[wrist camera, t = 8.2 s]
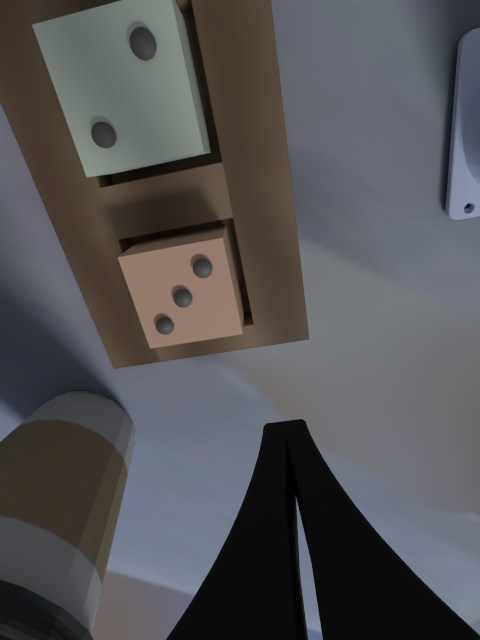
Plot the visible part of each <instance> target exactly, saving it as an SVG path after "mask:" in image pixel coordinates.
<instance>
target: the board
mask: <svg viewBox="0 0 480 640" xmlns="http://www.w3.org/2000/svg"><path fill="white" fill-rule="evenodd" d="M117 1H121V0H0V102H1V105H2V107H3V109H4V112H5V114H6V116H7V119H8V121H9V123H10V126H11V128H12V130H13V133H14V135H15V138H16V140H17V142H18V145H19V147H20V149H21V152H22V154H23V156H24V159H25V161H26V163H27V166H28V168H29V170H30V173H31V175H32V178H33V180H34V182H35V185H36V187H37V189H38V192H39V194H40V196H41V199H42V201H43V203H44V206H45V208H46V210H47V213H48V215H49V218H50V220H51V222H52V225H53V227H54V229H55V232H56V234H57V236H58V239H59V241H60V243H61V246H62V248H63V250H64V253H65V255H66V258H67V260H68V262H69V265H70V267H71V269H72V272H73V274H74V276H75V279H76V281H77V283H78V286H79V288H80V290H81V293H82V295H83V298H84V300H85V302H86V305H87V307H88V309H89V312H90V314H91V316H92V319H93V321H94V323H95V326H96V328H97V330H98V333H99V335H100V338H101V340H102V342H103V345H104V347H105V349H106V352H107V354H108V356H109V359H110V361H111V363H112V366H113V368H114V369H116V368H122V367H129V366H136V365H142V364H149V363H156V362H162V361H169V360H175V359H182V358H189V357H195V356H202V355H209V354H215V353H222V352H229V351H235V350H242V349H249V348H254V347H261V346H268V345H275V344H282V343H288V342H295V341H301V340H308V339H309V333H308V323H307V315H306V306H305V297H304V288H303V279H302V272H301V263H300V253H299V244H298V235H297V226H296V218H295V209H294V200H293V191H292V182H291V174H290V165H289V156H288V147H287V139H286V130H285V121H284V112H283V103H282V95H281V86H280V77H279V68H278V59H277V51H276V42H275V33H274V24H273V16H272V7H271V0H175V1H176V3H177V5H178V7H179V10H180V12H181V14H182V16H183V18H184V20H185V25H186V30H187V35H188V40H189V44H190V49H191V54H192V59H193V64H194V69H195V74H196V79H197V84H198V89H199V94H200V99H201V103H202V108H203V113H204V118H205V123H206V128H207V133H208V138H209V143H210V148H211V153H208V154H203V155H198V156H194V157H189V158H184V159H180V160H175V161H171V162H166V163H161V164H157V165H152V166H147V167H143V168H138V169H133V170H129V171H124V172H119V173H115V174H108V175H100V176H92V177H86V174H85V171H84V168H83V166H82V163H81V160H80V157H79V154H78V152H77V149H76V146H75V143H74V141H73V138H72V135H71V132H70V129H69V127H68V124H67V121H66V118H65V116H64V113H63V110H62V107H61V104H60V102H59V99H58V96H57V93H56V90H55V88H54V85H53V82H52V79H51V77H50V74H49V71H48V68H47V65H46V63H45V60H44V57H43V54H42V52H41V49H40V46H39V43H38V40H37V38H36V35H35V32H34V29H33V27H32V25H33V24H36V23H40V22H44V21H47V20H51V19H55V18H58V17H62V16H66V15H69V14H73V13H77V12H81V11H84V10H88V9H92V8H95V7H99V6H103V5H106V4H110V3H114V2H117ZM226 225H227V229H228V234H229V239H230V244H231V249H232V254H233V259H234V264H235V269H236V274H237V279H238V284H239V289H240V294H241V298H242V303H243V308H244V320H243V334H241V335H234V336H228V337H222V338H215V339H209V340H202V341H196V342H189V343H183V344H176V345H170V346H164V347H157V348H151V349H150V347H149V344H148V341H147V339H146V336H145V333H144V330H143V327H142V325H141V322H140V319H139V316H138V313H137V311H136V308H135V305H134V302H133V299H132V297H131V294H130V291H129V288H128V285H127V283H126V280H125V277H124V274H123V271H122V269H121V266H120V263H119V260H118V257H119V256H120V255H121V254H123V253H124V252H125V251H127V250H128V249H129V248H130V247H132V246H133V245H134V244H136V243H137V242H142V241H147V240H152V239H158V238H163V237H168V236H173V235H179V234H184V233H189V232H194V231H200V230H205V229H210V228H215V227H221V226H226Z"/></svg>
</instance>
